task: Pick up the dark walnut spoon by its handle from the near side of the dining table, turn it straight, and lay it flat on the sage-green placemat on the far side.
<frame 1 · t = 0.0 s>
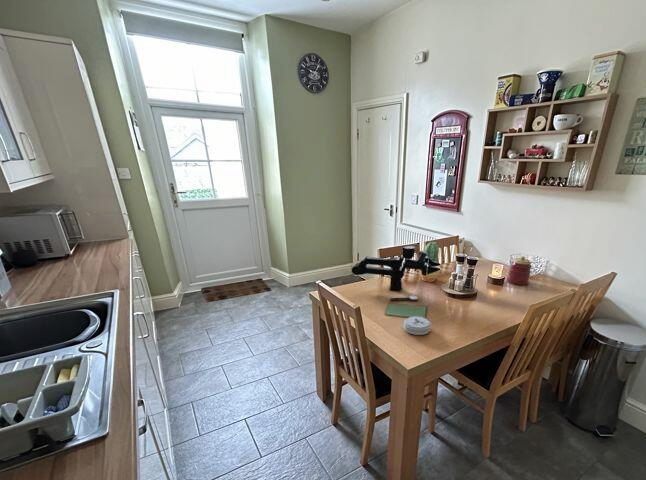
hand: (440, 266, 190), 17 cm above the table, tool horizontal, fingers open, 9 cm apart
potted cactus: (428, 279, 219), on the table
spoon: (405, 300, 186), on the table
placemat: (406, 311, 173), on the table
lid: (416, 330, 154), on the table
kitchen canister: (517, 282, 218), on the table
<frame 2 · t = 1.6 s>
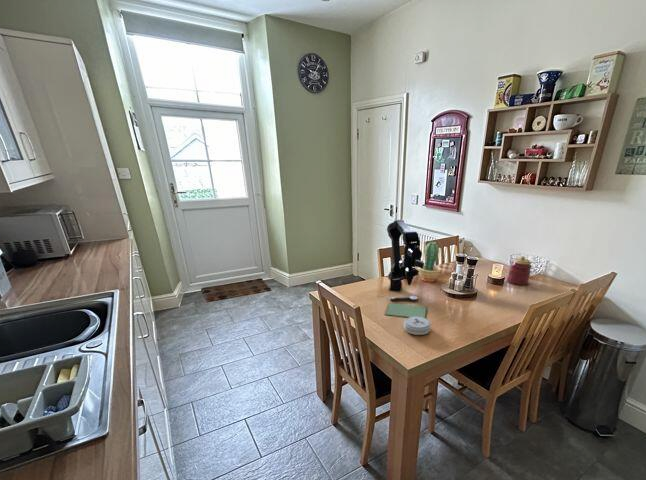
hand: (407, 282, 181), 11 cm above the table, tool pointing down, fingers open, 9 cm apart
nothing on the table moved.
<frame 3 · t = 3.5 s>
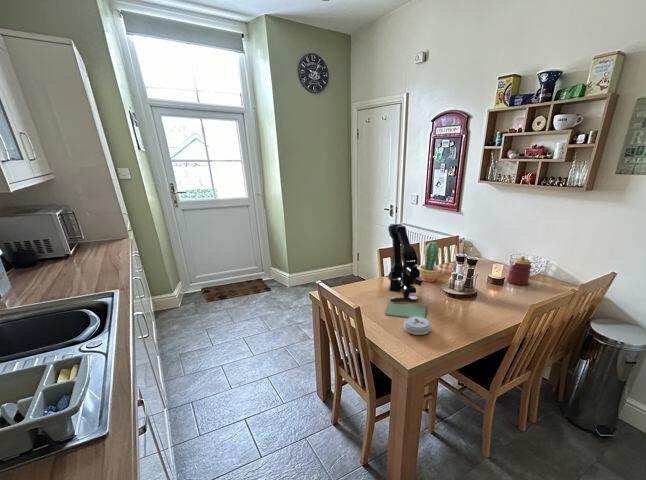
hand: (405, 298, 185), 1 cm above the table, tool pointing down, fingers closed on spoon, 2 cm apart
spoon: (405, 300, 186), on the table, touching gripper
everything else where it was.
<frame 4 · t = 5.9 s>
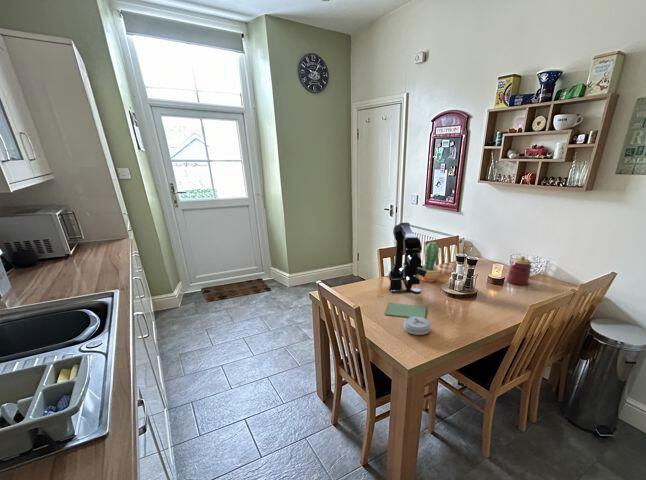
hand: (408, 291, 168), 11 cm above the table, tool pointing down, fingers closed on spoon
spoon: (407, 293, 169), point 10 cm above the table, touching gripper
everything else where it was.
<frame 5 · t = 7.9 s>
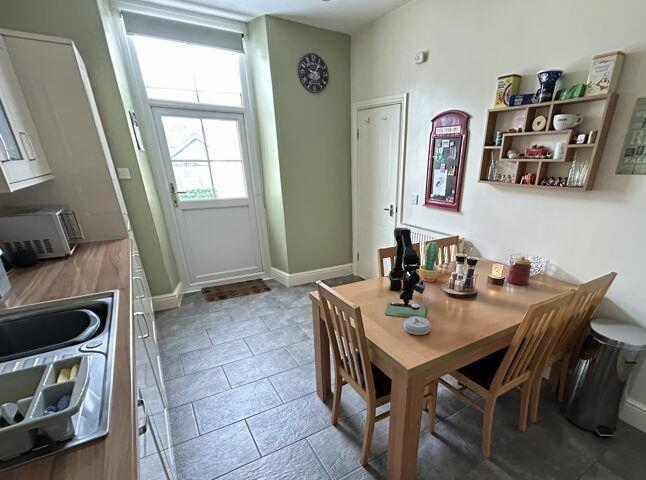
hand: (406, 305, 171), 3 cm above the table, tool pointing down, fingers closed on spoon, 2 cm apart
spoon: (406, 307, 172), point 2 cm above the table, touching gripper
everything else where it was.
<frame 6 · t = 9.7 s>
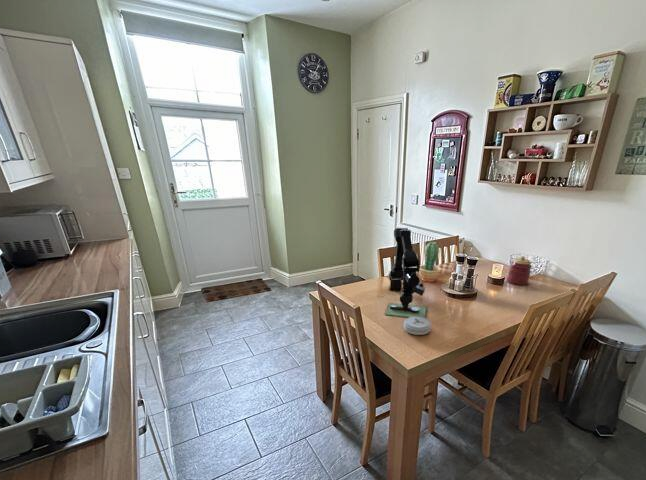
hand: (406, 307, 172), 2 cm above the table, tool pointing down, fingers open, 9 cm apart
spoon: (406, 310, 173), resting on placemat
everything else where it was.
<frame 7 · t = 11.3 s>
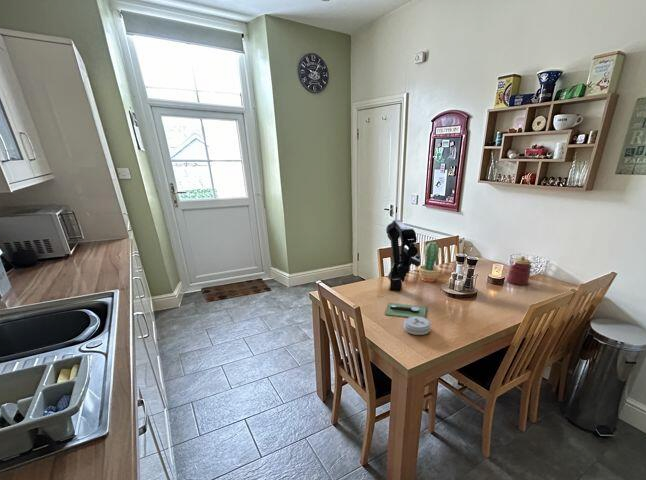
hand: (404, 278, 184), 12 cm above the table, tool pointing down, fingers open, 9 cm apart
nothing on the table moved.
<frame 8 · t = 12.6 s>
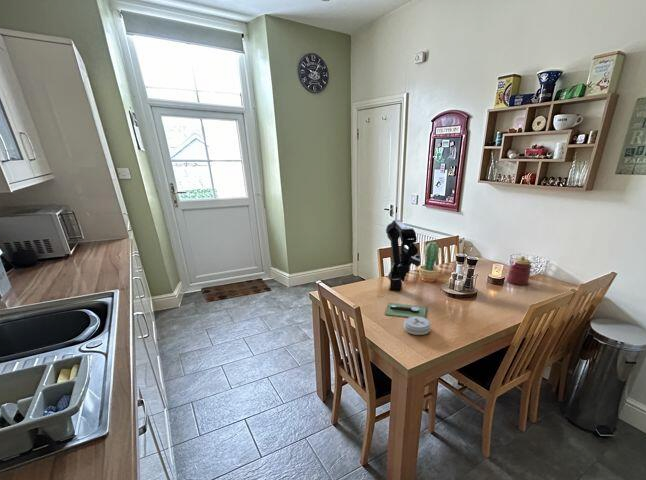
hand: (404, 278, 184), 12 cm above the table, tool pointing down, fingers open, 9 cm apart
nothing on the table moved.
at the end: spoon inside the target area (0.1 cm from its centre), resting on placemat; spoon touching placemat; spoon tilted 0° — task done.
